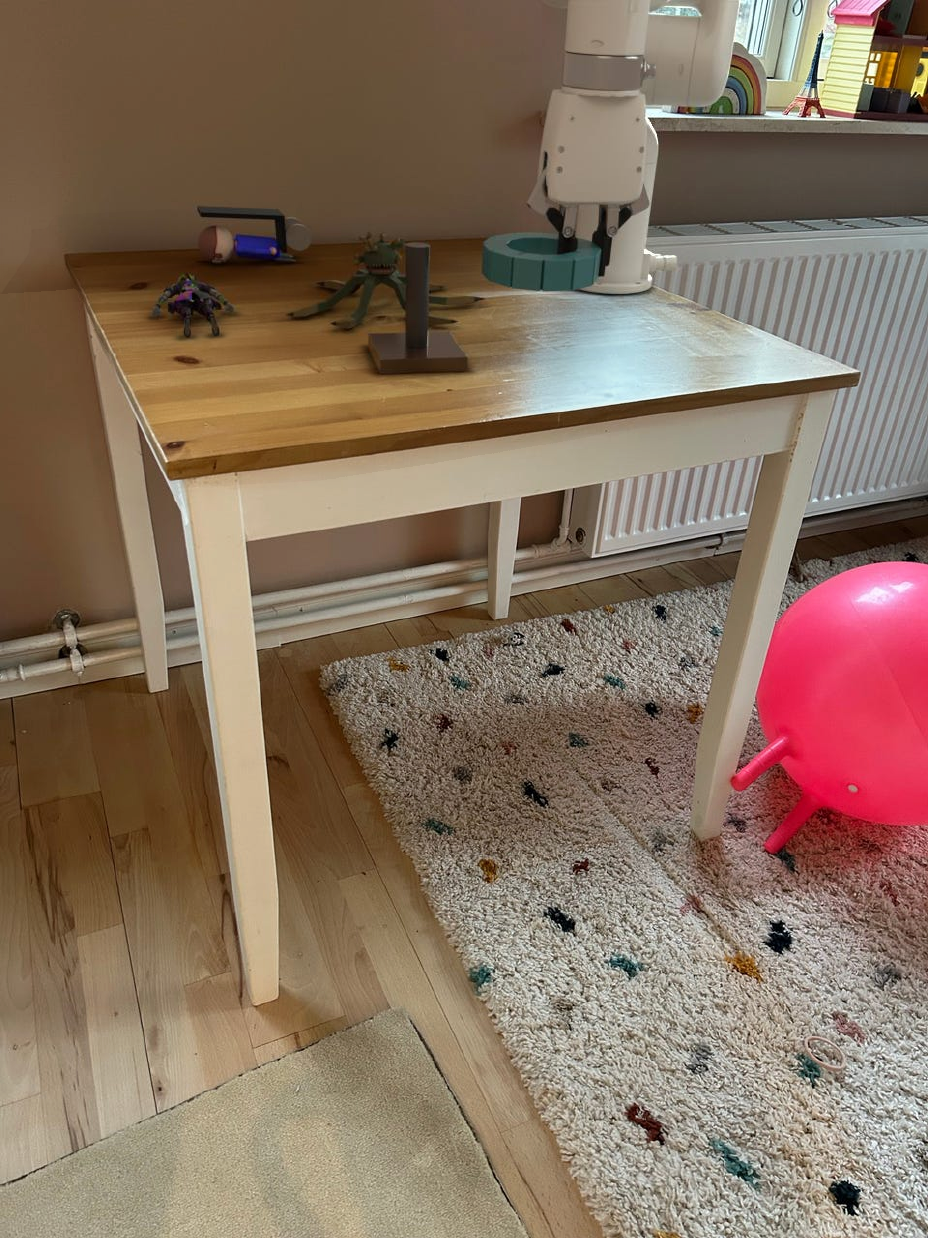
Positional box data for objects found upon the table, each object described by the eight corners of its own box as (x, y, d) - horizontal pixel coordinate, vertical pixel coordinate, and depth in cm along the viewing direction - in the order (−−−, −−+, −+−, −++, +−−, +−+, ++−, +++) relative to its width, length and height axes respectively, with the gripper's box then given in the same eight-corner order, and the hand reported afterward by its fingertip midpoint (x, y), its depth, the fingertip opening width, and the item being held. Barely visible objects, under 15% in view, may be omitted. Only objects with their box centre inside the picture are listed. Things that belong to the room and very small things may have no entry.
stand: (449, 344, 105) (452, 235, 99) (467, 371, 98) (472, 254, 92) (368, 347, 104) (366, 235, 97) (380, 374, 96) (379, 255, 90)
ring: (575, 259, 106) (578, 231, 105) (612, 289, 97) (616, 258, 95) (471, 261, 104) (472, 233, 102) (498, 292, 94) (500, 261, 93)
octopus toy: (285, 332, 107) (280, 249, 102) (283, 286, 124) (279, 213, 119) (503, 330, 111) (508, 251, 106) (473, 286, 127) (476, 216, 123)
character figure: (245, 337, 106) (226, 294, 118) (242, 303, 104) (223, 263, 116) (158, 342, 103) (148, 297, 115) (153, 307, 101) (143, 265, 113)
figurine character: (301, 264, 140) (195, 255, 135) (304, 209, 136) (195, 198, 131) (310, 275, 135) (200, 266, 129) (313, 218, 131) (201, 207, 125)
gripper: (665, 73, 96) (640, 263, 106) (509, 70, 92) (499, 266, 103) (696, 81, 90) (666, 281, 100) (530, 78, 86) (517, 285, 97)
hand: (581, 272), depth 101 cm, fingers closed on ring, 2 cm apart
